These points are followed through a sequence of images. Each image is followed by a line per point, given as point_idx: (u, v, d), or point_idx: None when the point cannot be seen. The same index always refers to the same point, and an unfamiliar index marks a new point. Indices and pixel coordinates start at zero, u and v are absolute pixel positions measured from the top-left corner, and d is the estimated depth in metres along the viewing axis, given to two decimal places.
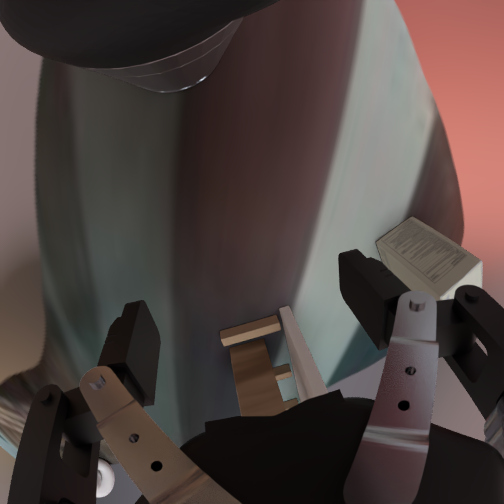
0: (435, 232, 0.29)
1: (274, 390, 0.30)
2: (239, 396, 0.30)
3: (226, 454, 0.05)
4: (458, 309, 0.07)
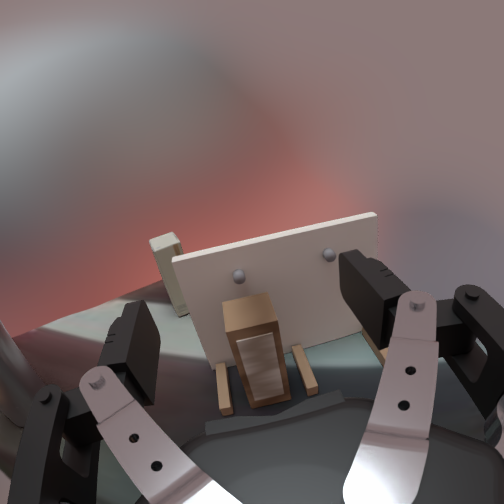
0: None
1: None
2: None
3: (226, 454, 0.05)
4: (458, 309, 0.07)
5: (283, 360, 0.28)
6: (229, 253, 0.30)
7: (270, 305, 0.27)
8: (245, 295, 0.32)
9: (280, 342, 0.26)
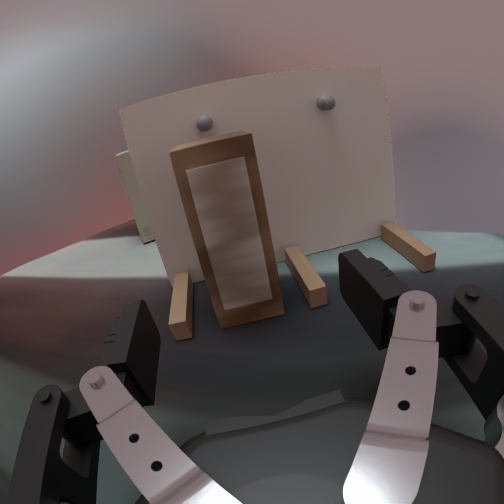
0: None
1: None
2: (188, 222, 0.17)
3: (226, 454, 0.05)
4: (458, 309, 0.07)
5: (266, 221, 0.18)
6: (192, 93, 0.20)
7: (243, 132, 0.17)
8: None
9: (258, 180, 0.17)
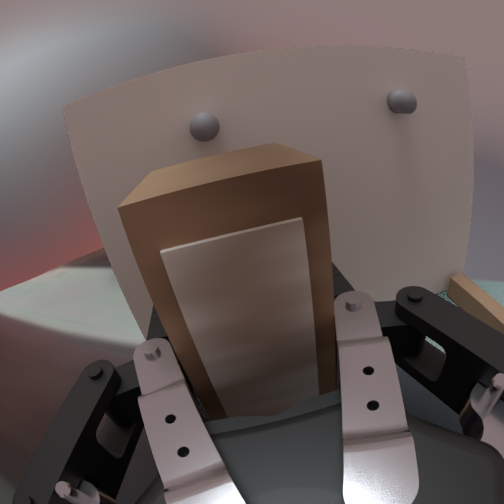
0: None
1: None
2: None
3: (226, 454, 0.05)
4: (403, 314, 0.08)
5: (331, 339, 0.09)
6: (183, 75, 0.11)
7: (287, 149, 0.08)
8: None
9: (328, 267, 0.07)
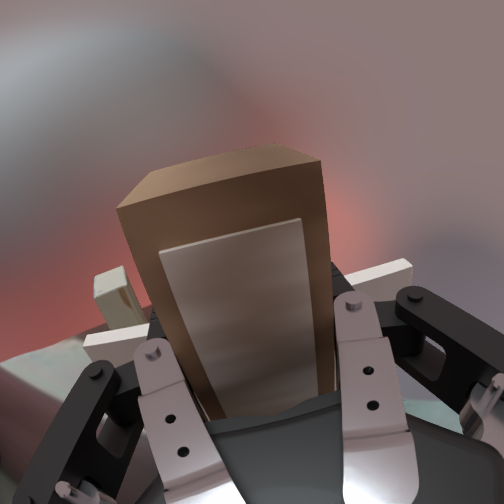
0: None
1: None
2: None
3: (226, 454, 0.05)
4: (403, 314, 0.08)
5: (330, 340, 0.08)
6: None
7: (286, 150, 0.08)
8: None
9: (327, 268, 0.07)
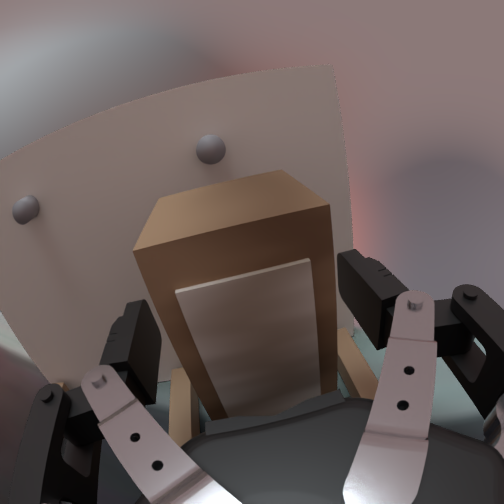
0: None
1: None
2: None
3: (226, 454, 0.05)
4: (456, 309, 0.07)
5: (334, 363, 0.09)
6: (11, 163, 0.11)
7: (294, 183, 0.09)
8: (51, 253, 0.13)
9: (332, 301, 0.08)
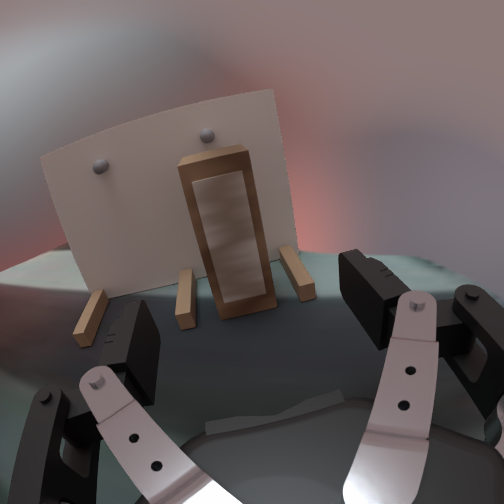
0: None
1: None
2: (193, 226, 0.20)
3: (226, 454, 0.05)
4: (458, 309, 0.07)
5: (261, 226, 0.20)
6: (91, 140, 0.22)
7: (241, 147, 0.20)
8: (112, 193, 0.25)
9: (254, 190, 0.19)
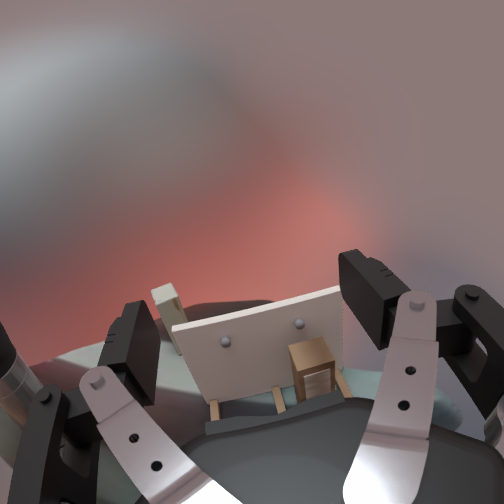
0: None
1: (292, 367, 0.37)
2: (299, 391, 0.34)
3: (226, 454, 0.05)
4: (458, 309, 0.07)
5: (334, 386, 0.35)
6: (217, 325, 0.37)
7: (327, 347, 0.34)
8: (231, 353, 0.39)
9: (334, 374, 0.33)
